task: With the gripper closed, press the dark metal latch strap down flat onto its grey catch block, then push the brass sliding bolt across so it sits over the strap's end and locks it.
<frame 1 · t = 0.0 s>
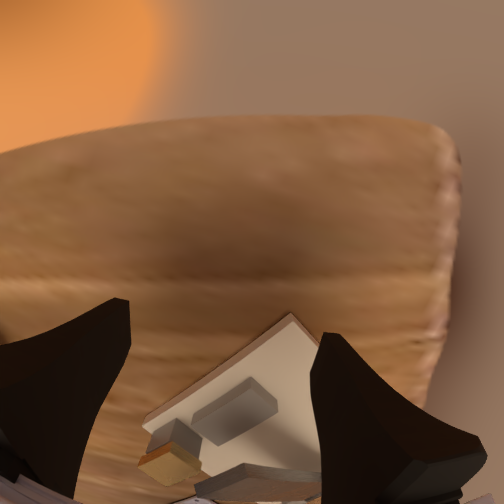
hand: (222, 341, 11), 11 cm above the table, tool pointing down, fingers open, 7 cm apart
latch base plate: (277, 431, 24), on the table
latch strap: (286, 487, 18), point 6 cm above the table, hinge at 25.0°
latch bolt: (169, 465, 19), point 5 cm above the table, slide at 0.0 cm
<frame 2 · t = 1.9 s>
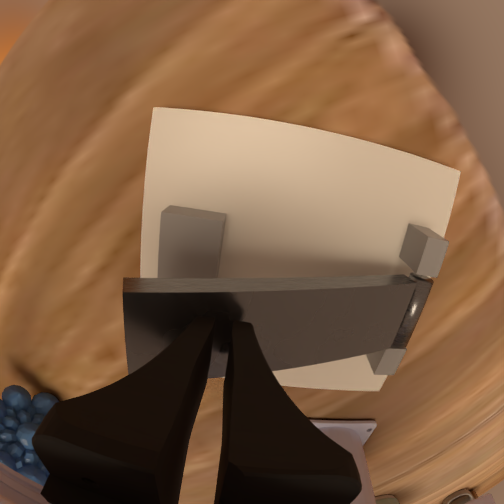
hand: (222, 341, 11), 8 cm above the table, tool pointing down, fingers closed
disposable coffee cup: (375, 501, 31), on the table
grapes: (53, 399, 25), on the table
ceramic mug: (453, 497, 35), on the table
latch base plate: (290, 267, 19), on the table
latch strap: (307, 324, 13), point 6 cm above the table, hinge at 21.2°, touching gripper
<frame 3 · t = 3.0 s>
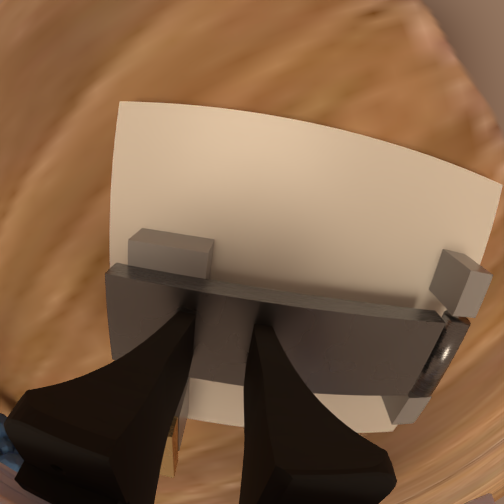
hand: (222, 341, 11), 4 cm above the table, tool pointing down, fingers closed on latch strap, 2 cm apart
grapes: (36, 425, 21), on the table
latch base plate: (295, 302, 15), on the table
latch strap: (299, 346, 12), point 3 cm above the table, hinge at -0.1°, touching gripper, latch base plate
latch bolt: (144, 442, 12), point 5 cm above the table, slide at 0.0 cm
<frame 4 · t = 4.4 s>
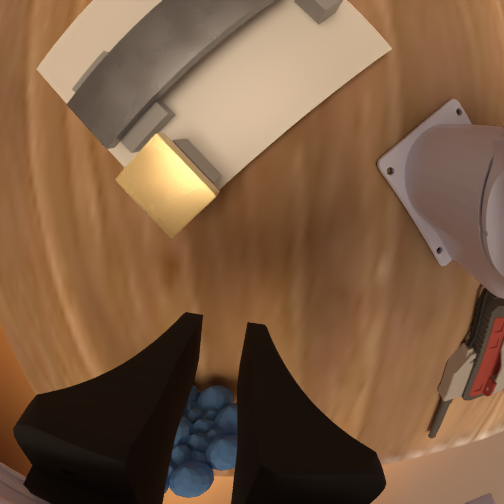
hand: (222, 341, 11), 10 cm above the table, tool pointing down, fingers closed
grapes: (192, 391, 26), on the table
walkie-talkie: (473, 361, 25), on the table
latch base plate: (197, 42, 16), on the table
latch strap: (182, 27, 13), point 3 cm above the table, hinge at -0.1°, touching latch base plate
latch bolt: (167, 184, 14), point 5 cm above the table, slide at 0.0 cm
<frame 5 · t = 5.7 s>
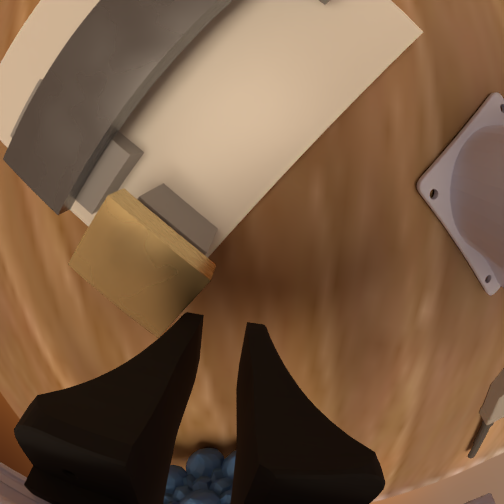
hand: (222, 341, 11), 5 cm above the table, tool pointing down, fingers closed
grapes: (215, 453, 22), on the table
latch base plate: (163, 47, 12), on the table
latch strap: (133, 29, 9), point 3 cm above the table, hinge at -0.1°, touching latch base plate
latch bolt: (138, 264, 10), point 5 cm above the table, slide at 0.1 cm, touching gripper
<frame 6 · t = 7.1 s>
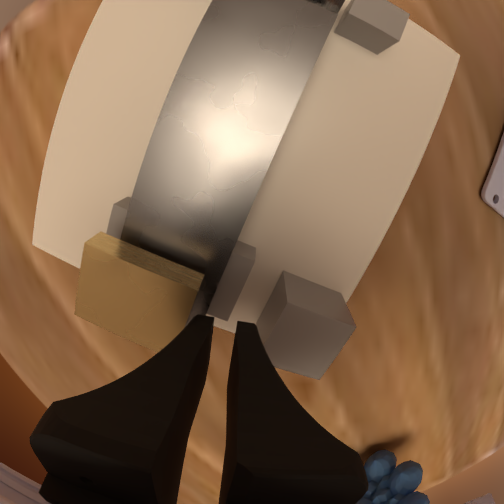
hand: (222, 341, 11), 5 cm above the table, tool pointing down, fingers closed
grapes: (350, 463, 22), on the table
latch base plate: (228, 132, 13), on the table
latch strap: (216, 135, 10), point 3 cm above the table, hinge at -0.1°, touching latch base plate
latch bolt: (134, 296, 10), point 5 cm above the table, slide at 6.6 cm, touching gripper
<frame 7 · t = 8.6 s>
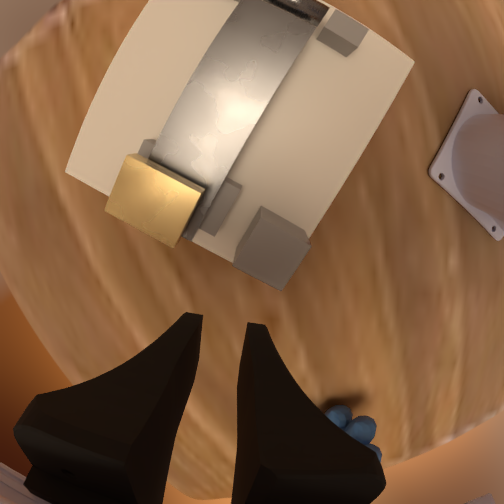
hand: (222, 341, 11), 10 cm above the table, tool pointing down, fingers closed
grapes: (310, 418, 27), on the table
latch base plate: (232, 102, 18), on the table
latch strap: (225, 98, 14), point 3 cm above the table, hinge at -0.1°, touching latch base plate
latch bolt: (153, 199, 15), point 5 cm above the table, slide at 6.5 cm
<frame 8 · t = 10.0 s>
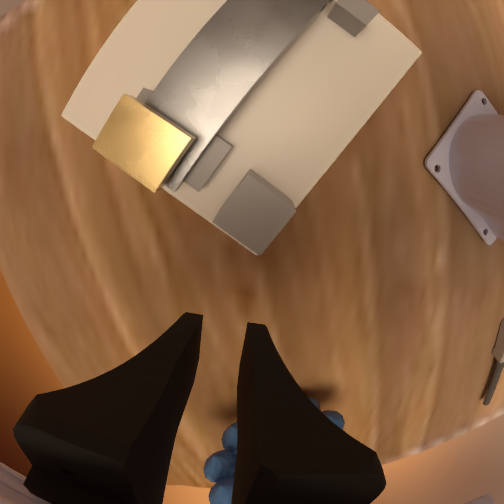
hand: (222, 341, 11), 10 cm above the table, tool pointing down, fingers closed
grapes: (275, 408, 27), on the table
latch base plate: (236, 67, 17), on the table
latch strap: (229, 55, 14), point 3 cm above the table, hinge at -0.1°, touching latch base plate
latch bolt: (142, 141, 14), point 5 cm above the table, slide at 6.5 cm
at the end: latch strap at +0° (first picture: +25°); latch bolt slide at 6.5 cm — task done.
